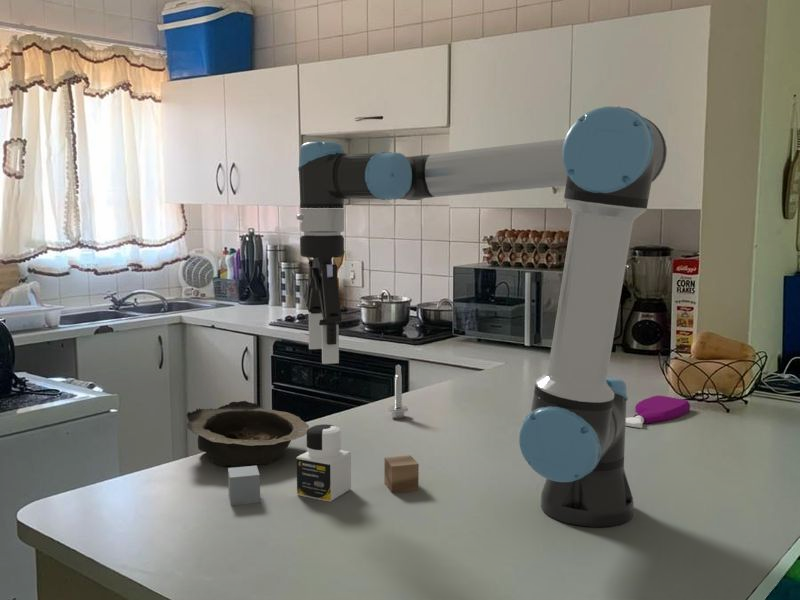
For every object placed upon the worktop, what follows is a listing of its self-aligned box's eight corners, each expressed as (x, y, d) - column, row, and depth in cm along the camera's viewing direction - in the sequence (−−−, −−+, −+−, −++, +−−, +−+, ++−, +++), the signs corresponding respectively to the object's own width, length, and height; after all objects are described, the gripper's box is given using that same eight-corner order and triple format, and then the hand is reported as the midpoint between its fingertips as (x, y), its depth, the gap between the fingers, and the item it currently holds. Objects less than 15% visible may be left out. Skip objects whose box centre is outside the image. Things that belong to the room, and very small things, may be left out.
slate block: (260, 502, 136) (259, 474, 135) (230, 505, 134) (229, 477, 134) (257, 492, 140) (256, 465, 140) (228, 495, 139) (227, 468, 138)
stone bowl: (177, 443, 168) (179, 401, 167) (292, 440, 177) (294, 400, 176) (189, 480, 145) (192, 430, 144) (321, 474, 154) (323, 427, 153)
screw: (408, 419, 187) (388, 419, 187) (407, 414, 192) (388, 414, 192) (408, 366, 186) (388, 366, 186) (407, 362, 191) (388, 362, 191)
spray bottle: (694, 412, 196) (648, 434, 178) (652, 404, 203) (604, 425, 186) (694, 400, 195) (648, 422, 178) (653, 393, 203) (605, 413, 185)
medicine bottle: (296, 495, 139) (295, 429, 137) (318, 483, 145) (317, 419, 143) (330, 502, 135) (329, 435, 134) (351, 489, 142) (351, 424, 140)
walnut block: (418, 490, 141) (418, 463, 141) (391, 493, 140) (391, 466, 139) (410, 481, 146) (410, 455, 146) (384, 483, 145) (384, 457, 144)
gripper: (290, 231, 146) (291, 344, 148) (312, 237, 122) (313, 371, 124) (330, 231, 148) (331, 342, 150) (359, 236, 124) (360, 368, 126)
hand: (323, 355), depth 137 cm, fingers open, 13 cm apart
